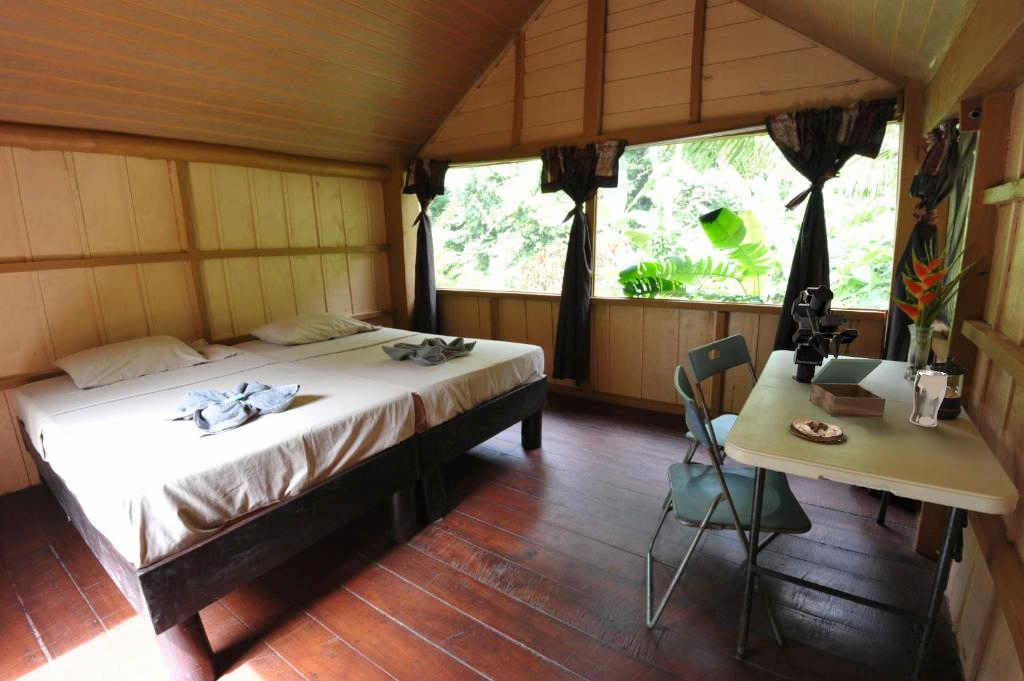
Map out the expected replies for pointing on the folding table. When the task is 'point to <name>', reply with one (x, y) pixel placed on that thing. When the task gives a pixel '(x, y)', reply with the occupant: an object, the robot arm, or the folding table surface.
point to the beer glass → (927, 397)
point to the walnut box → (847, 400)
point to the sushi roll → (816, 430)
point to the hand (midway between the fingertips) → (832, 358)
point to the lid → (846, 371)
